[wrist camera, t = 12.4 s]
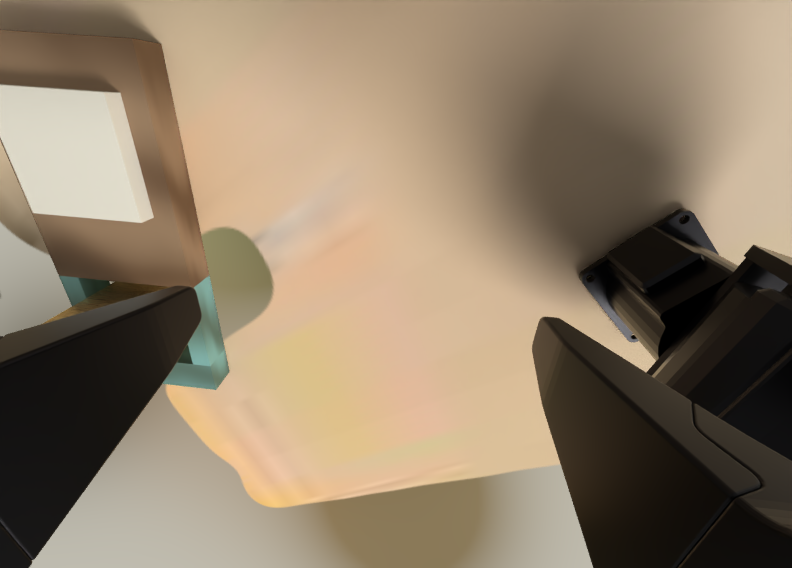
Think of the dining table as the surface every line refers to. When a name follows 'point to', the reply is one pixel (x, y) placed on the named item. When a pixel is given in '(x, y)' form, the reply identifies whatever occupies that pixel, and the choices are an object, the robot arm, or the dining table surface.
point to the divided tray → (108, 173)
